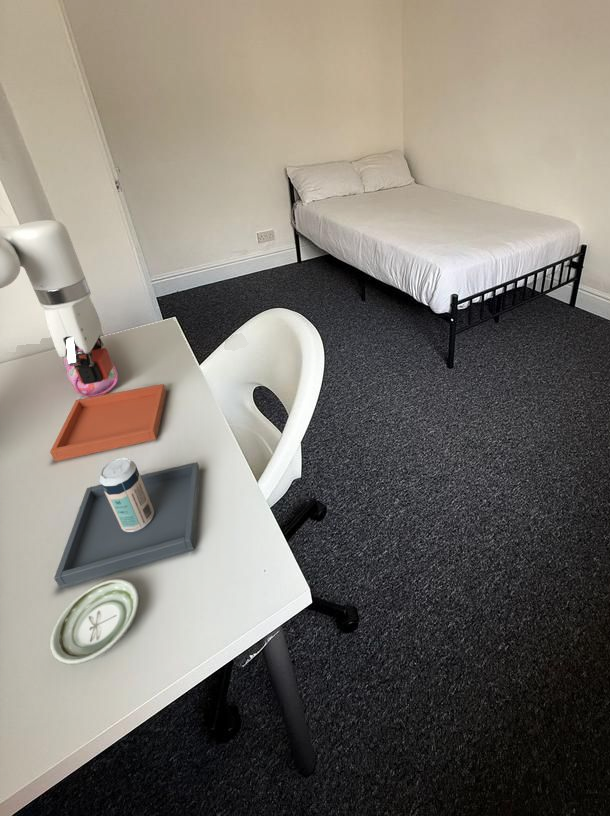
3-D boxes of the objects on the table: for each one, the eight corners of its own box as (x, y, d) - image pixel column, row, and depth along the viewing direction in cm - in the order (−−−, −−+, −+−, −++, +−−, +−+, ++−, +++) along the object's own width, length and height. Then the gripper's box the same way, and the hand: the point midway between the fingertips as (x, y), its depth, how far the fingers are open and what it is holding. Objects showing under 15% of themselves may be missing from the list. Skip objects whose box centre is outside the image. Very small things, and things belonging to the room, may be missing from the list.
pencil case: (65, 365, 107) (52, 335, 103) (106, 352, 112) (95, 323, 108) (79, 407, 93) (64, 374, 89) (125, 389, 98) (113, 358, 94)
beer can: (150, 501, 70) (130, 450, 65) (158, 521, 67) (137, 469, 62) (118, 518, 68) (94, 466, 62) (125, 540, 64) (100, 487, 59)
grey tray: (60, 589, 59) (53, 578, 58) (91, 498, 72) (86, 487, 71) (194, 550, 64) (190, 539, 62) (200, 471, 77) (197, 461, 76)
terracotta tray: (54, 461, 79) (49, 451, 78) (80, 408, 92) (76, 399, 91) (156, 439, 84) (152, 430, 83) (166, 392, 97) (163, 383, 96)
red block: (81, 383, 80) (73, 364, 78) (88, 370, 84) (80, 351, 82) (107, 379, 81) (100, 360, 79) (113, 366, 85) (106, 347, 83)
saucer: (153, 627, 54) (148, 617, 53) (65, 694, 48) (58, 684, 47) (130, 573, 61) (125, 563, 59) (50, 627, 55) (43, 617, 54)
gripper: (55, 276, 80) (88, 354, 88) (17, 316, 66) (60, 405, 74) (100, 271, 82) (127, 348, 90) (72, 309, 68) (108, 396, 76)
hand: (97, 373), depth 82 cm, fingers closed on red block, 4 cm apart
